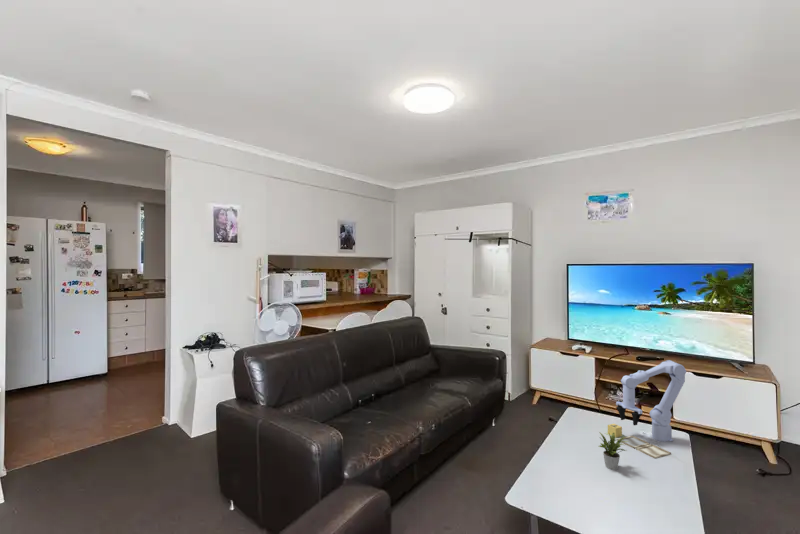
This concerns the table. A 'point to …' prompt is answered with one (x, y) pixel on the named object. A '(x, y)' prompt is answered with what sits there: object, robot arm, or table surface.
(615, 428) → the letter cube
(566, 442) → the table surface
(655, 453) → the organizer board
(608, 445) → the house plant
